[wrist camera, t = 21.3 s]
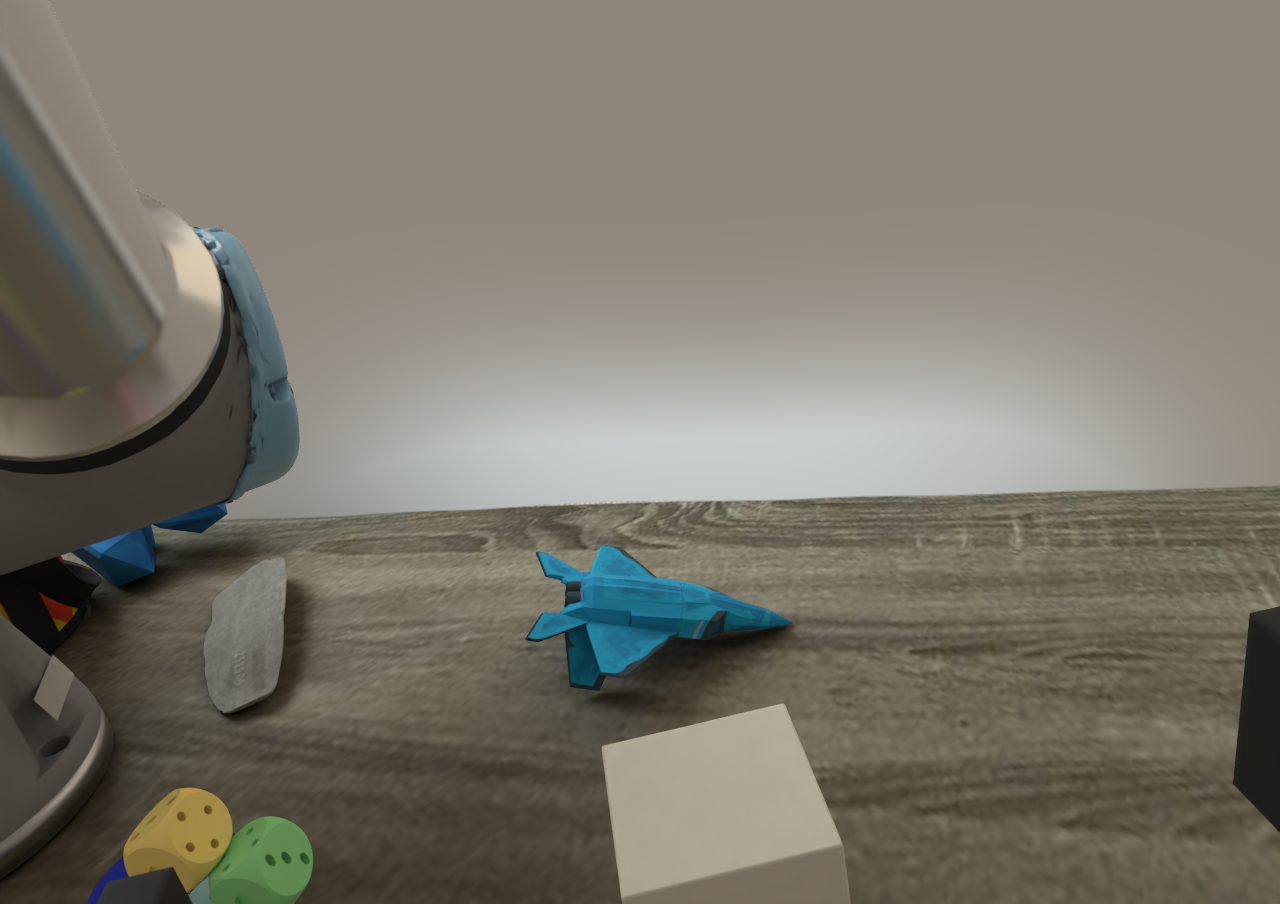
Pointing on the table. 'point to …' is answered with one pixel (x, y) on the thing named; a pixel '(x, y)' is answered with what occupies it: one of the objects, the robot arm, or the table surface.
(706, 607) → the toy airplane
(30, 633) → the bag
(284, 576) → the stone tool
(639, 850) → the block on pink pedestal
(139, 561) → the crystal
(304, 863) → the dice
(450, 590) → the table surface
